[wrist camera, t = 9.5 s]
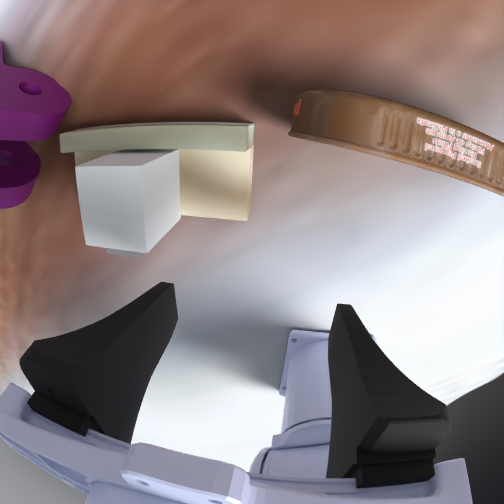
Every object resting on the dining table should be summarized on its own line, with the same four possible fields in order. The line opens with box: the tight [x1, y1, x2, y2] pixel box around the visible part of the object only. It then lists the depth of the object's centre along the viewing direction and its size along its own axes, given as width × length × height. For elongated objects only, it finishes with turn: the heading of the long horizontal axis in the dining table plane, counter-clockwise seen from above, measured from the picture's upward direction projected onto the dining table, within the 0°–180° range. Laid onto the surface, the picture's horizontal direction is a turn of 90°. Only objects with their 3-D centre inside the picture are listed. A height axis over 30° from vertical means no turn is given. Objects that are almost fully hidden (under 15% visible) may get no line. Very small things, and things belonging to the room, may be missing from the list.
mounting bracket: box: [0, 41, 71, 209], centre depth 19 cm, size 10×8×18 cm
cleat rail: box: [59, 122, 255, 221], centre depth 20 cm, size 6×14×3 cm, turn 87°
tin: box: [288, 89, 504, 196], centre depth 14 cm, size 15×3×8 cm, turn 83°
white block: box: [75, 149, 181, 258], centre depth 19 cm, size 6×4×6 cm
